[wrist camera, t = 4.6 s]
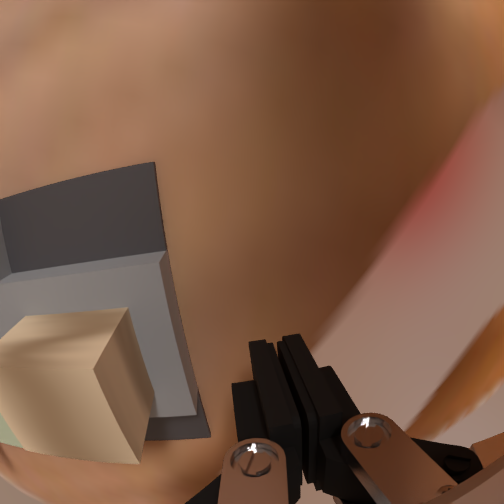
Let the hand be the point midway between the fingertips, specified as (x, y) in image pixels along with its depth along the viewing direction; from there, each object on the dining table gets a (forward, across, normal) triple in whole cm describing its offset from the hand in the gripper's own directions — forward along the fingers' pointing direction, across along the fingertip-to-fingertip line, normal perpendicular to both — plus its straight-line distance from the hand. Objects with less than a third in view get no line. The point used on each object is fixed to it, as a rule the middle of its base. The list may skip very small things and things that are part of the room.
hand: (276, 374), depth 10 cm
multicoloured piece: (+4, +12, 0) cm, 13 cm away
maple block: (+2, +7, 0) cm, 8 cm away
